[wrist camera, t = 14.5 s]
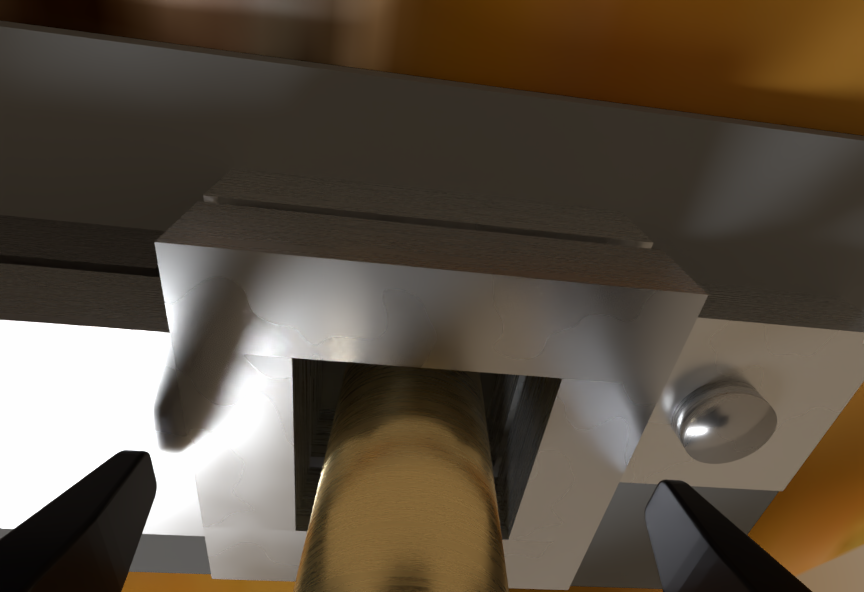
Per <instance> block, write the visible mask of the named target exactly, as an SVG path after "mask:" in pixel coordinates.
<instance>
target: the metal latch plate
mask: <svg viewBox="0 0 864 592" xmlns="http://www.w3.org/2000/svg"><path fill="white" fill-rule="evenodd" d="M154 244H155V249H156V255H157V261H158V267H159V273H160V277H151V276H140V275H128V274H117V273H106V272H95V271H83V270H72V269H61V268H50V267H38V266H27V265H16V264H5V263H0V528H9V529H14V528H15V527H17V526H18V525H20V524H21V523H22V522H24V521H25V520H26V519H28V518H29V517H30V516H32V515H33V514H34V513H36V512H37V511H39V510H40V509H41V508H43V507H44V506H45V505H47V504H48V503H49V502H51V501H52V500H53V499H55V498H56V497H58V496H59V495H60V494H62V493H63V492H64V491H66V490H67V489H68V488H70V487H71V486H72V485H74V484H75V483H76V482H78V481H79V480H81V479H82V478H83V477H85V476H86V475H87V474H89V473H90V472H91V471H93V470H94V469H95V468H97V467H98V466H100V465H101V464H102V463H104V462H105V461H106V460H108V459H109V458H110V457H112V456H113V455H114V454H116V453H117V452H119V451H122V450H143V451H147V452H148V453H149V454H150V456H151V459H152V464H153V468H154V472H155V477H156V481H157V491H156V496H155V499H154V502H153V505H152V507H151V510H150V513H149V516H148V519H147V522H146V524H145V527H144V530H143V533H142V534H159V535H184V536H205V541H206V547H207V553H208V559H209V564H210V570H211V576H212V579H237V580H268V581H296V577H297V573H298V569H299V564H300V560H301V556H302V552H303V547H304V543H305V539H306V535H307V530H308V526H309V522H310V518H311V513H312V509H313V505H314V501H315V496H316V492H317V488H318V484H319V479H320V475H321V471H322V468H320V467H309V443H310V359H313V360H326V361H339V362H353V363H366V364H379V365H392V366H406V367H419V368H432V369H446V370H459V371H472V372H485V373H499V374H512V375H525V376H526V377H525V380H524V384H523V387H522V391H521V394H520V398H519V401H518V405H517V408H516V412H515V415H514V419H513V422H512V426H511V429H510V433H509V436H508V440H507V443H506V447H505V450H504V454H503V457H502V461H501V464H500V468H499V471H498V475H497V477H494V483H495V490H496V498H497V505H498V513H499V520H500V528H501V535H502V543H503V550H504V557H505V565H506V572H507V580H508V587H509V588H518V589H550V590H568V589H569V587H570V585H571V583H572V581H573V579H574V577H575V575H576V572H577V570H578V568H579V566H580V564H581V562H582V560H583V558H584V556H585V553H586V551H587V549H588V547H589V545H590V543H591V541H592V539H593V537H594V535H595V532H596V530H597V528H598V526H599V524H600V522H601V520H602V518H603V516H604V514H605V511H606V509H607V507H608V505H609V503H610V501H611V499H612V497H613V495H614V492H615V490H616V488H617V486H618V484H619V482H620V480H621V478H622V476H623V474H624V471H625V469H626V467H627V465H628V463H629V461H630V459H631V457H632V455H633V452H634V450H635V448H636V446H637V444H638V442H639V440H640V438H641V436H642V434H643V431H644V429H645V427H646V425H647V423H648V421H649V419H650V417H651V415H652V412H653V410H654V408H655V406H656V404H657V402H658V400H659V398H660V396H661V394H662V391H663V389H664V387H665V385H666V383H667V381H668V379H669V377H670V375H671V372H672V370H673V368H674V366H675V364H676V362H677V360H678V358H679V356H680V354H681V351H682V349H683V347H684V345H685V343H686V341H687V339H688V337H689V335H690V333H691V330H692V328H693V326H694V324H695V322H696V320H697V318H698V316H699V314H700V311H701V309H702V307H703V305H704V303H705V301H706V299H707V297H708V294H707V293H706V292H705V291H704V290H703V289H702V288H701V287H700V286H699V285H698V284H697V283H696V282H695V281H693V280H692V279H691V278H690V277H689V276H688V275H687V274H686V273H685V272H684V271H683V270H682V269H681V268H680V267H679V266H678V265H677V264H676V263H675V262H674V261H673V260H672V259H671V258H670V257H669V256H668V255H667V254H666V253H665V252H664V251H663V250H660V249H650V248H641V247H631V246H622V245H612V244H602V243H593V242H583V241H574V240H564V239H554V238H545V237H535V236H526V235H516V234H506V233H497V232H487V231H477V230H468V229H458V228H449V227H439V226H429V225H420V224H410V223H401V222H391V221H381V220H372V219H362V218H352V217H343V216H333V215H324V214H314V213H304V212H295V211H285V210H276V209H266V208H256V207H247V206H237V205H227V204H218V203H208V202H199V201H198V202H197V203H196V204H195V205H194V206H193V207H192V208H190V209H189V210H188V211H187V212H186V213H185V214H184V215H183V216H182V217H181V218H180V219H179V220H177V221H176V222H175V223H174V224H173V225H172V226H171V227H170V228H169V229H168V230H167V231H166V232H165V233H163V234H162V235H161V236H160V237H159V238H158V239H157V240H156V241H155V242H154Z"/></svg>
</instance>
